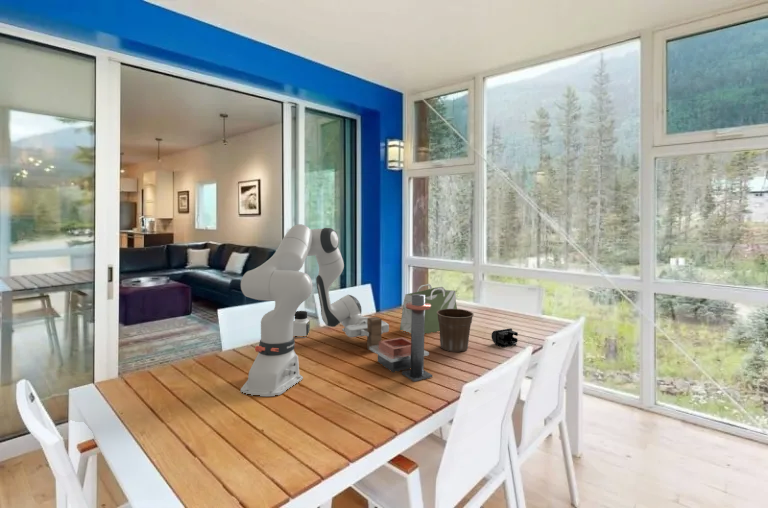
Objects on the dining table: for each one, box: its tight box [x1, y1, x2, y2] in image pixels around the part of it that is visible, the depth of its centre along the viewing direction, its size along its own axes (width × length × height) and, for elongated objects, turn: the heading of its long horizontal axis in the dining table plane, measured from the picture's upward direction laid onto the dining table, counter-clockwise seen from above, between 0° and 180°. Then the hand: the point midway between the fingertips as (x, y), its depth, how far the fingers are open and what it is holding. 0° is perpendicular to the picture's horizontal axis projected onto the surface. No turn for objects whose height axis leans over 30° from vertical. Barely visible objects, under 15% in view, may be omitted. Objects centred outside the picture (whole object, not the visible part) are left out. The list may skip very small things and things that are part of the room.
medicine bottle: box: [293, 310, 311, 337], centre depth 196 cm, size 7×7×12 cm
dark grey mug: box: [490, 328, 519, 348], centre depth 186 cm, size 10×7×7 cm
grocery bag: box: [399, 283, 458, 335], centre depth 211 cm, size 32×14×23 cm, turn 127°
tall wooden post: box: [366, 316, 383, 353], centre depth 175 cm, size 4×4×14 cm
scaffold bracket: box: [369, 294, 433, 382], centre depth 153 cm, size 26×17×30 cm, turn 30°
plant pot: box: [437, 308, 474, 353], centre depth 179 cm, size 16×16×16 cm
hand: (375, 333), depth 174 cm, fingers closed on tall wooden post, 4 cm apart
